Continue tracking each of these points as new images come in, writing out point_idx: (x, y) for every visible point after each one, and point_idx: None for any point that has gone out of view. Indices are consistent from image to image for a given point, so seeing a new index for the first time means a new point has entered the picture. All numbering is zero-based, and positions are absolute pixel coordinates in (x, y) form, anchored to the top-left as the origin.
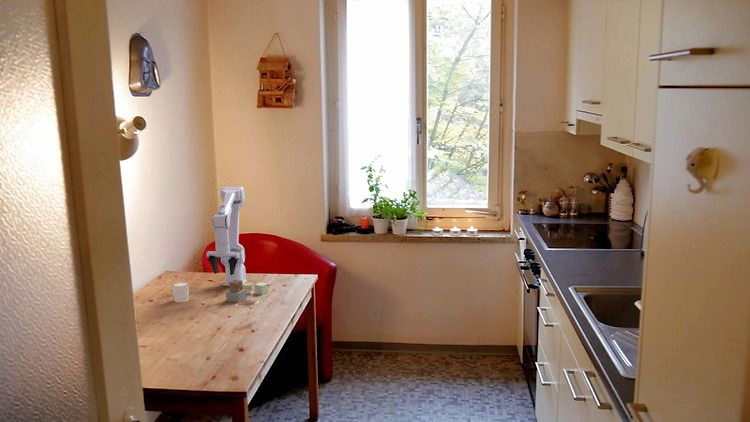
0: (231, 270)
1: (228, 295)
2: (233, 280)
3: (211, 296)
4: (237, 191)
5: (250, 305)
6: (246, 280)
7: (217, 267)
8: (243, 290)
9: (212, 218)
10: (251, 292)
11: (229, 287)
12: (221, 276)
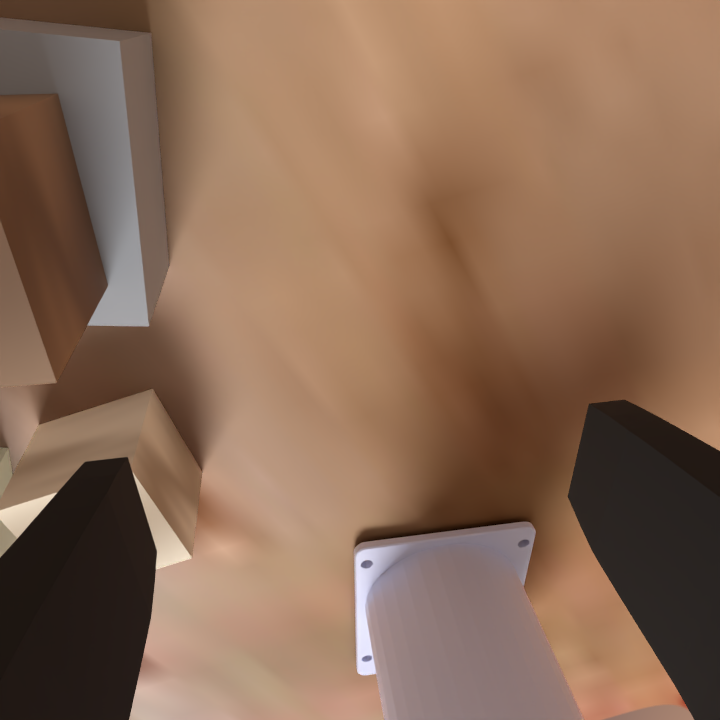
0: (3, 565)
1: (69, 31)
2: (24, 340)
3: (498, 173)
4: None
5: None
6: (362, 664)
7: (645, 607)
8: None
9: None
10: (34, 438)
11: (24, 107)
12: (628, 662)
